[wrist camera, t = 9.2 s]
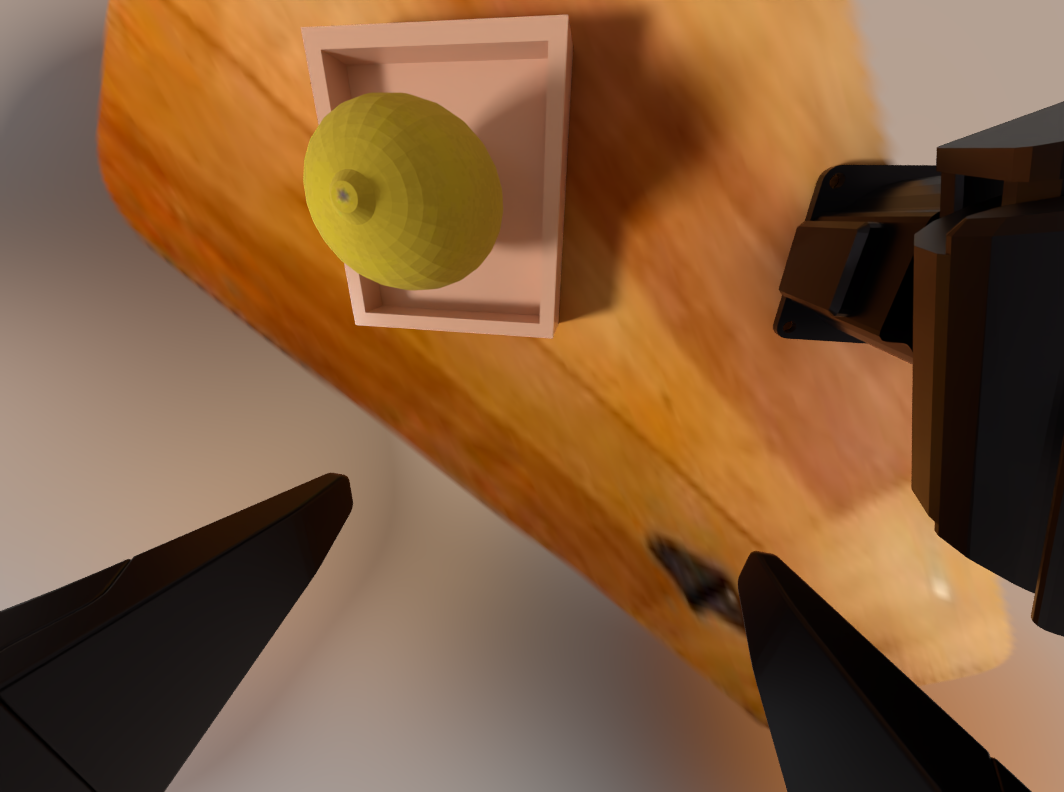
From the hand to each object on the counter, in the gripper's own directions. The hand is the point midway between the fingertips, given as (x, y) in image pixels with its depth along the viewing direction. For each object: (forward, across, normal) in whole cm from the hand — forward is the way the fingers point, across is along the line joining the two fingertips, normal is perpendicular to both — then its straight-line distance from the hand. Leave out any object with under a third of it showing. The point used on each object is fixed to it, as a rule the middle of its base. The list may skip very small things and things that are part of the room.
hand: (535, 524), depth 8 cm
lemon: (+11, +6, -6) cm, 14 cm away
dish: (+12, +6, -6) cm, 15 cm away
